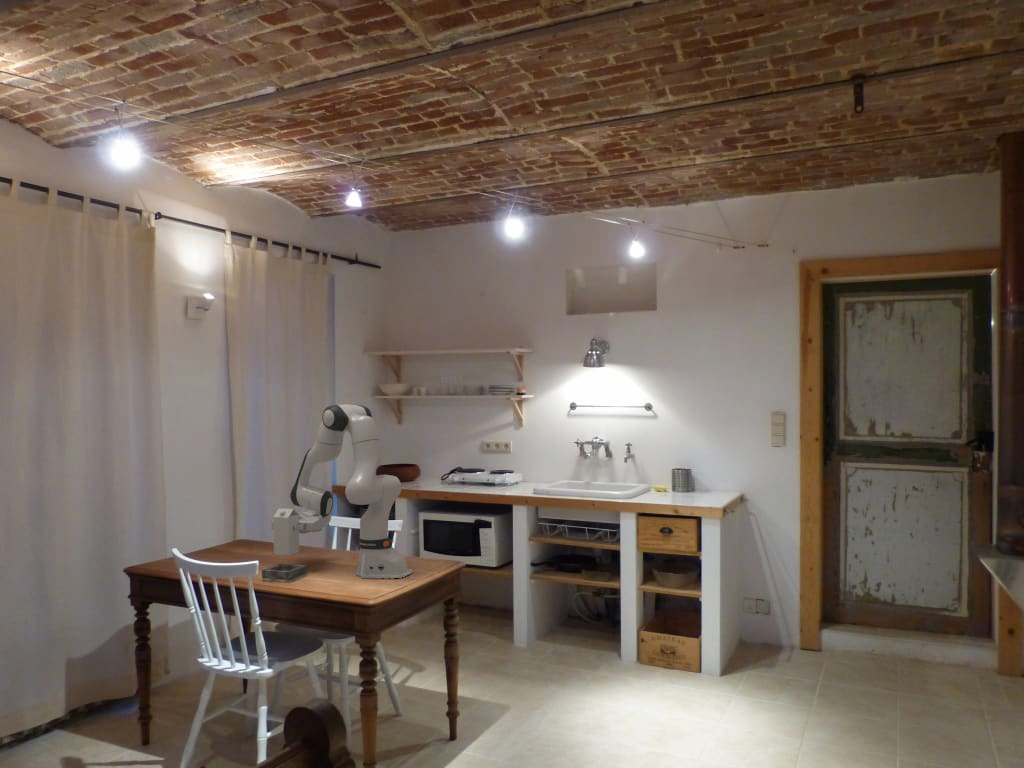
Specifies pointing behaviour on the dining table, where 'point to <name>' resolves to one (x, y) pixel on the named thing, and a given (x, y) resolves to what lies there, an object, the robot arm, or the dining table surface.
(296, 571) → the square glass ashtray
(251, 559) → the dining table surface
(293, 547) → the milk carton
